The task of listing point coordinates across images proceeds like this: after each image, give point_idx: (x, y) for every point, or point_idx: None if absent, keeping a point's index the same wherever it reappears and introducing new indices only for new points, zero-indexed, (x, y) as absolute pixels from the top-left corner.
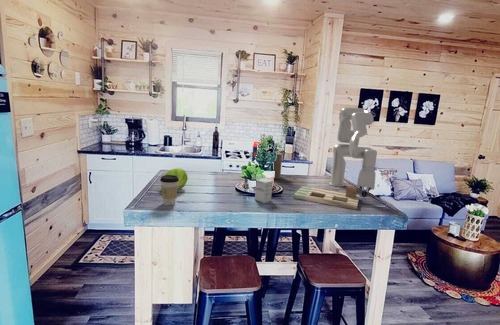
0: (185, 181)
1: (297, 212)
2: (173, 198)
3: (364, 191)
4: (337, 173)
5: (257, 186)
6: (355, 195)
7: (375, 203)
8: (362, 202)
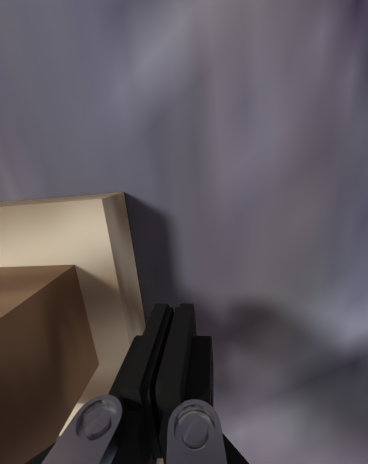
0: None
1: None
2: None
3: (157, 445)
4: None
5: None
6: (77, 398)
7: (325, 249)
8: (182, 300)
